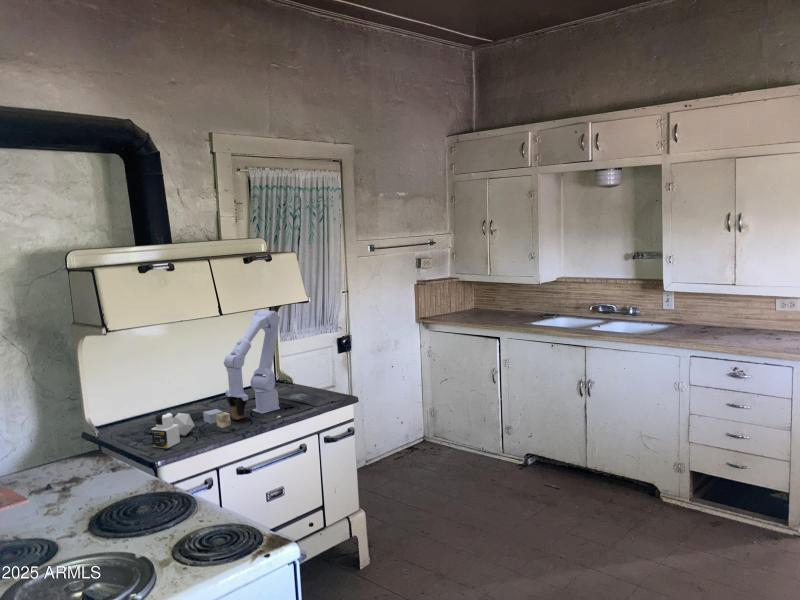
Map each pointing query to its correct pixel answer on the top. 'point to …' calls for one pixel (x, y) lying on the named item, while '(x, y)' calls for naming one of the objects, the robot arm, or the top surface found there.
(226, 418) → the maple block
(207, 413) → the base block
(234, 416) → the walnut block
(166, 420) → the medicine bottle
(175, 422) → the die
